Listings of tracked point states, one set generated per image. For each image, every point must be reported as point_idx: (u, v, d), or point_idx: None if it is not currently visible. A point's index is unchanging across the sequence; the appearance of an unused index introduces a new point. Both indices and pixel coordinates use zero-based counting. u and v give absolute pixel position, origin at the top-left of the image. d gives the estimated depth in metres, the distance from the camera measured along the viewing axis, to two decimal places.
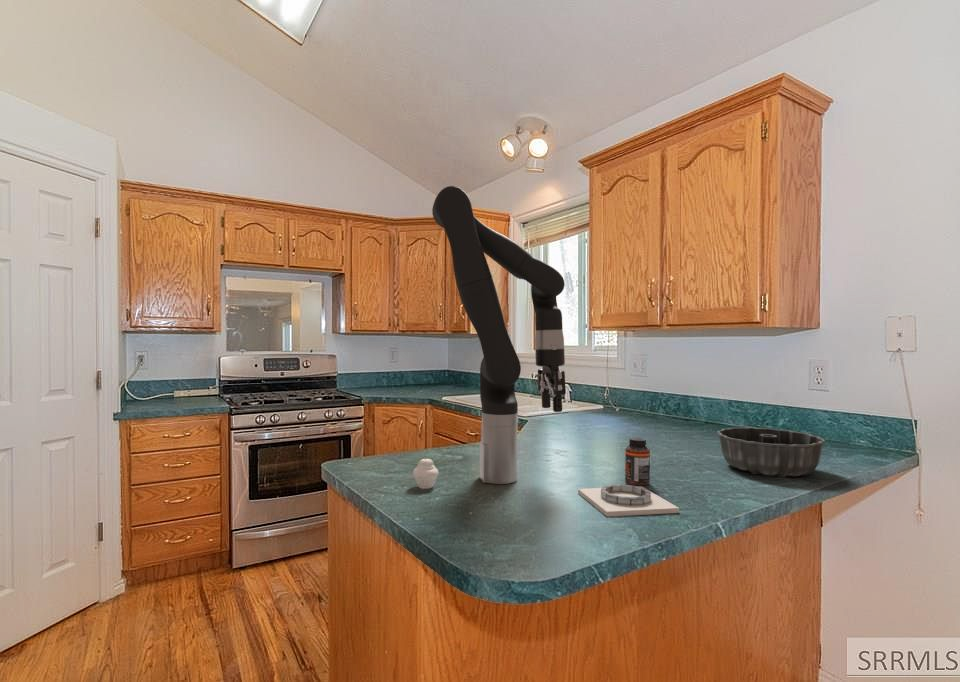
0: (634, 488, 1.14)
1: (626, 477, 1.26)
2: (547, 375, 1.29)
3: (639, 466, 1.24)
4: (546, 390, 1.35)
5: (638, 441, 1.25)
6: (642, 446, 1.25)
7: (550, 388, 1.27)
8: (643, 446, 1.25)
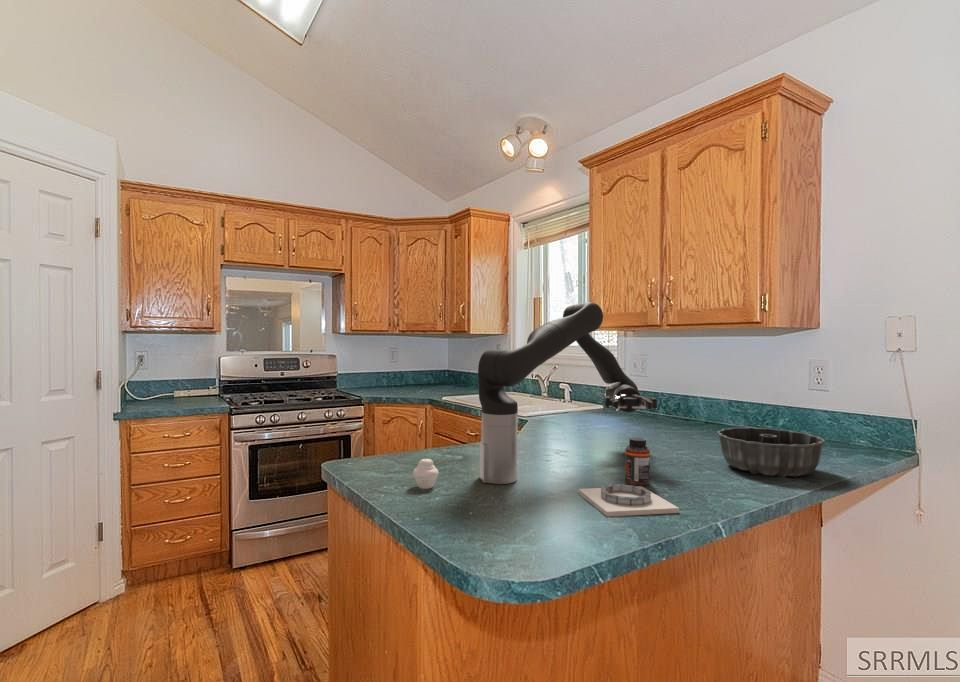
0: (634, 488, 1.14)
1: (626, 477, 1.26)
2: None
3: (639, 466, 1.24)
4: None
5: (638, 441, 1.25)
6: (642, 446, 1.25)
7: (643, 397, 1.43)
8: (643, 446, 1.25)
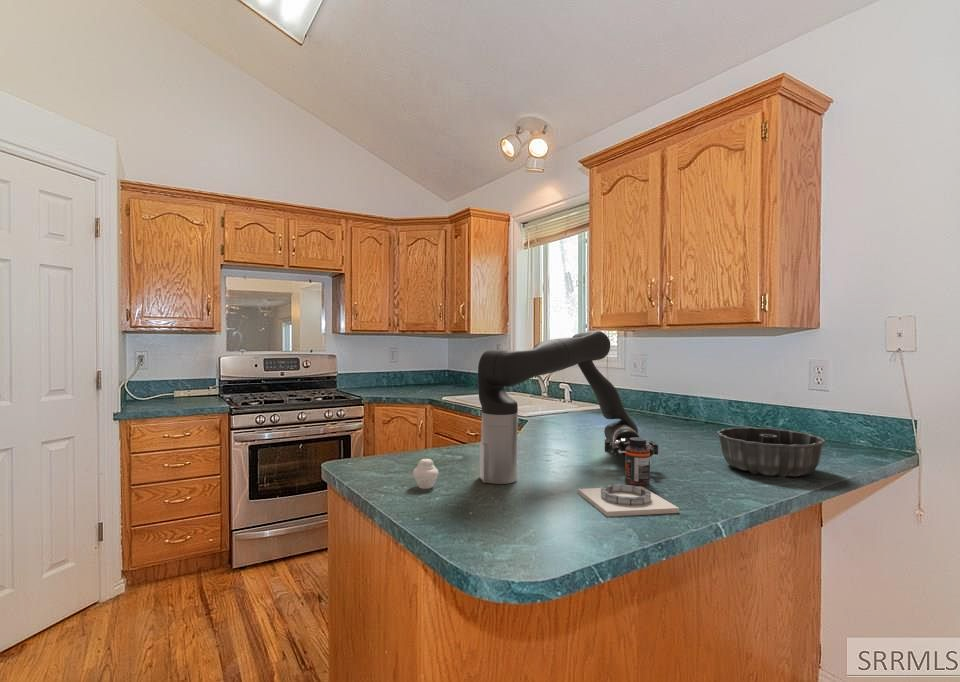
0: (634, 488, 1.14)
1: (626, 477, 1.26)
2: None
3: (639, 466, 1.24)
4: None
5: (638, 441, 1.25)
6: (642, 446, 1.25)
7: None
8: (643, 446, 1.25)
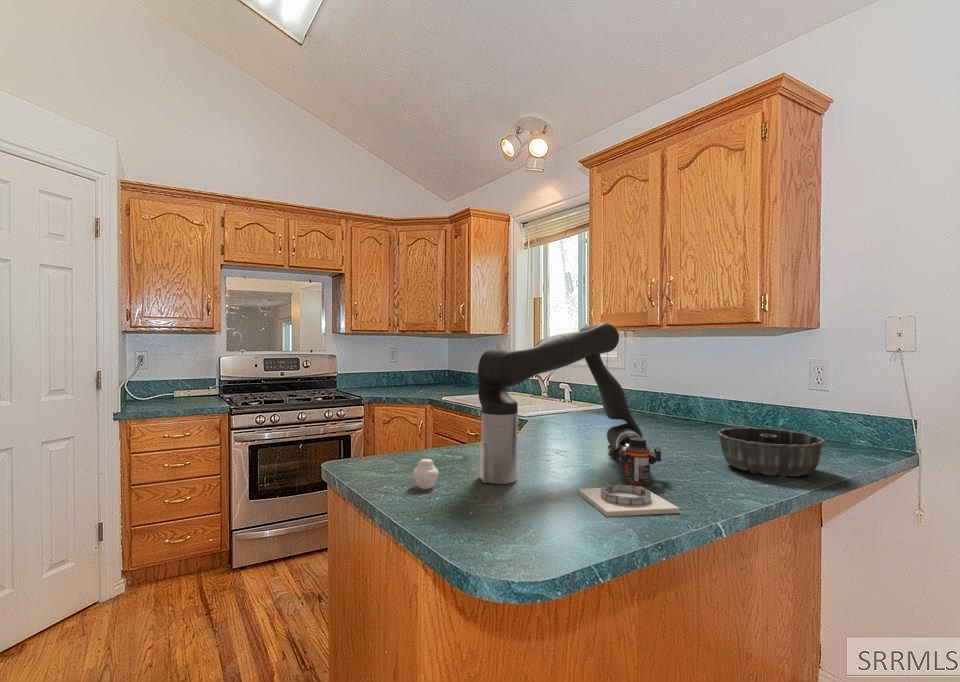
0: (634, 488, 1.14)
1: (626, 477, 1.26)
2: None
3: (639, 466, 1.24)
4: None
5: (638, 441, 1.25)
6: (642, 446, 1.25)
7: None
8: (643, 446, 1.25)
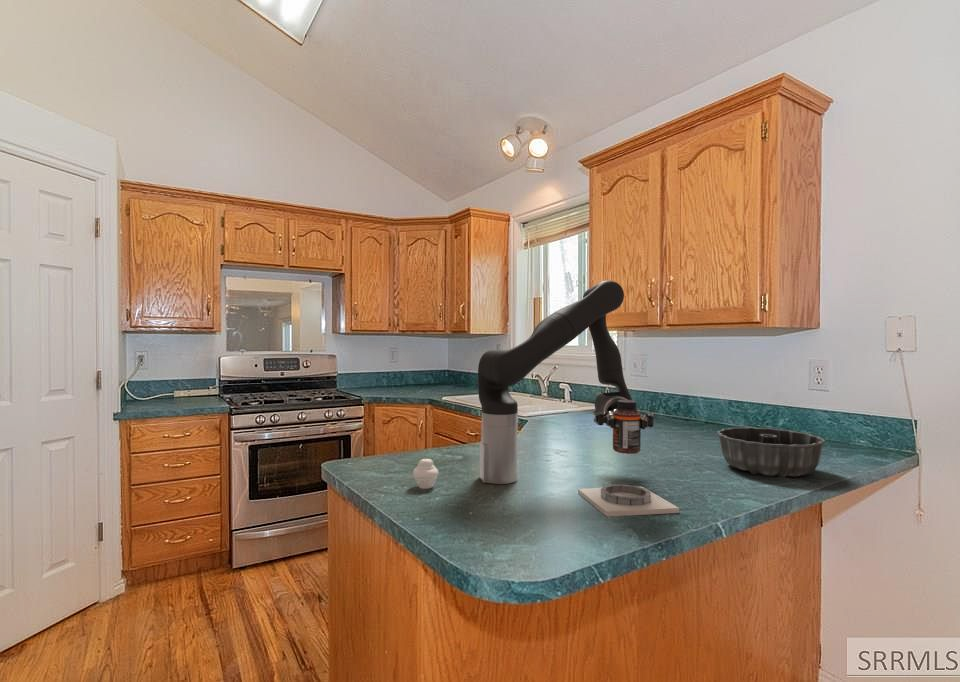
0: (634, 488, 1.14)
1: (614, 444, 1.11)
2: None
3: (629, 431, 1.09)
4: None
5: (627, 403, 1.09)
6: (631, 409, 1.10)
7: None
8: (633, 409, 1.10)
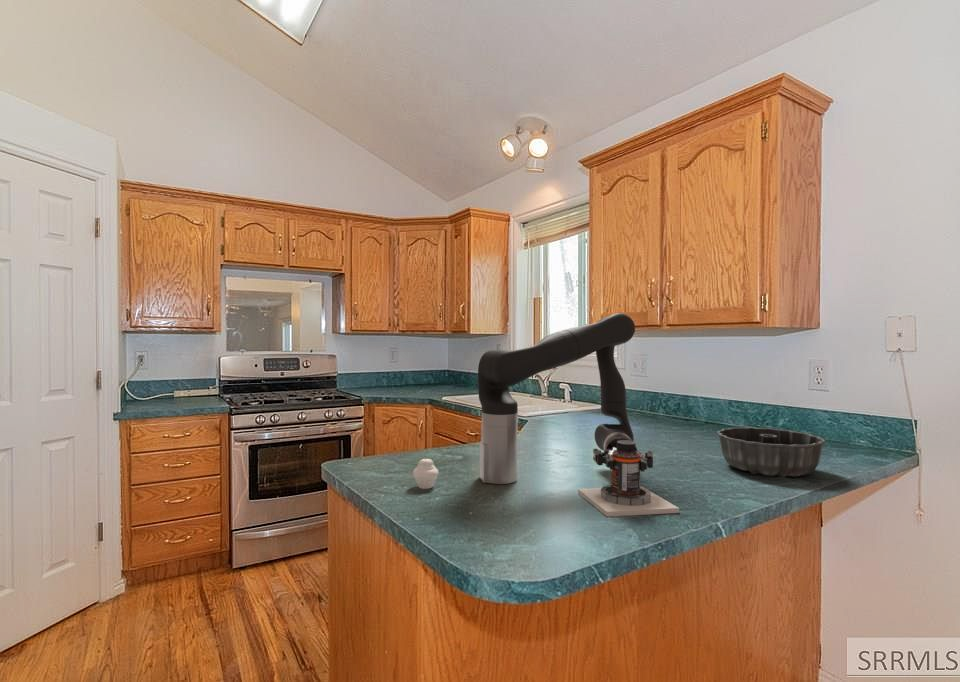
0: None
1: (613, 486, 1.11)
2: None
3: (628, 473, 1.08)
4: None
5: (626, 445, 1.09)
6: (631, 451, 1.09)
7: None
8: (632, 450, 1.09)
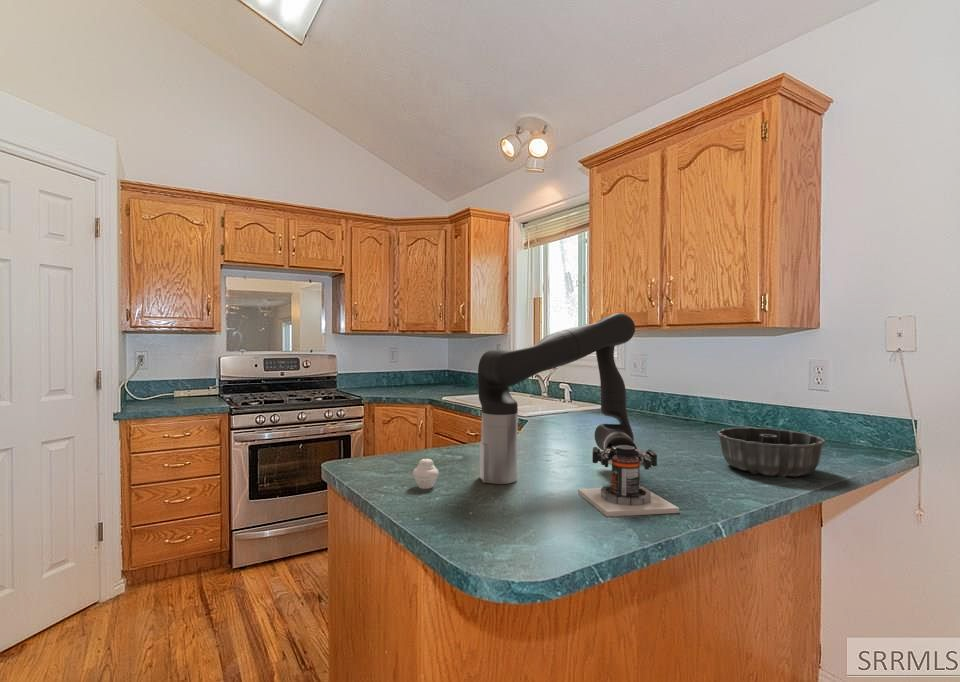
0: None
1: (612, 491, 1.11)
2: None
3: (627, 478, 1.08)
4: None
5: (626, 450, 1.09)
6: (630, 456, 1.09)
7: (640, 452, 1.14)
8: (632, 455, 1.09)
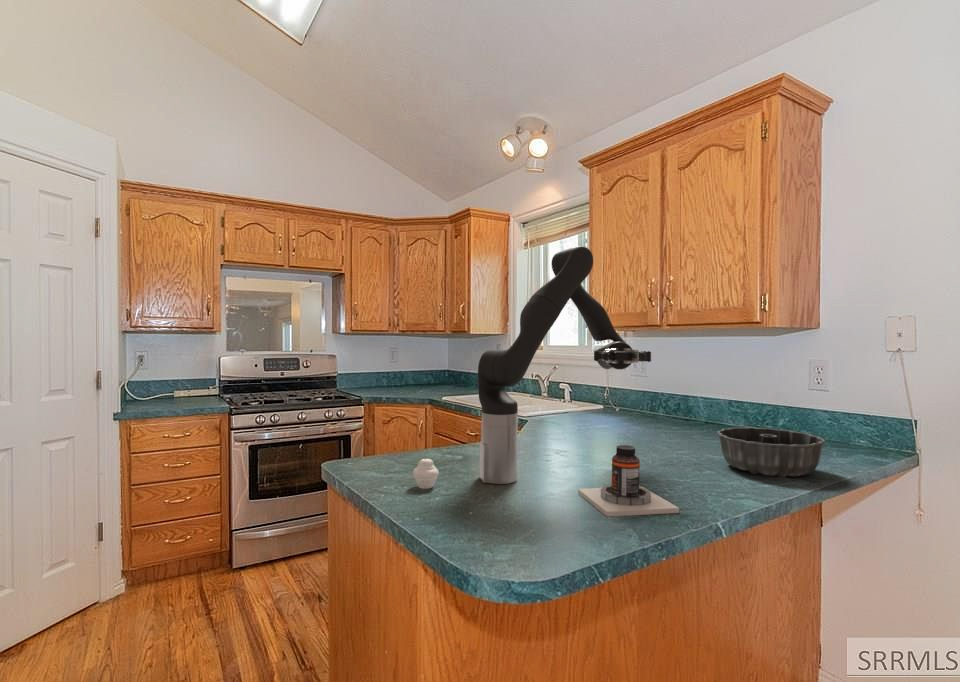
0: None
1: (612, 491, 1.11)
2: None
3: (627, 478, 1.08)
4: None
5: (626, 450, 1.09)
6: (630, 456, 1.09)
7: (636, 350, 1.29)
8: (632, 455, 1.09)
